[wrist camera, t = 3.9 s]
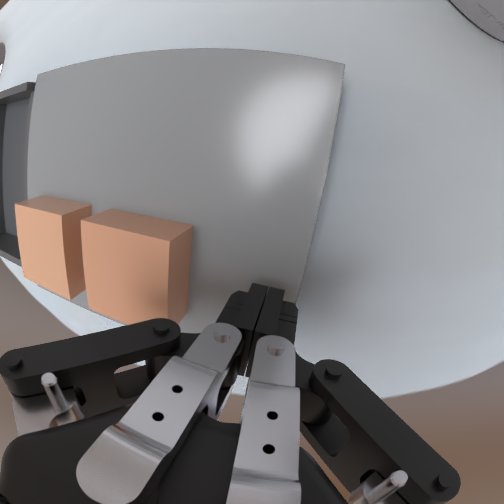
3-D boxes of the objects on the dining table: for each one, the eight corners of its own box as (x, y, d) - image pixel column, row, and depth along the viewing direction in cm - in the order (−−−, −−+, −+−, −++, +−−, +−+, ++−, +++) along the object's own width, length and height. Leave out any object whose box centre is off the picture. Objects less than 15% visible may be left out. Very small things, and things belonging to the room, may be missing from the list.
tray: (9, 98, 16) (-19, 99, 13) (60, 85, 15) (27, 82, 12) (7, 235, 21) (-17, 246, 18) (55, 254, 20) (27, 269, 17)
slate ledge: (65, 78, 15) (37, 74, 12) (338, 80, 12) (345, 64, 10) (61, 271, 21) (38, 285, 18) (282, 340, 18) (276, 370, 15)
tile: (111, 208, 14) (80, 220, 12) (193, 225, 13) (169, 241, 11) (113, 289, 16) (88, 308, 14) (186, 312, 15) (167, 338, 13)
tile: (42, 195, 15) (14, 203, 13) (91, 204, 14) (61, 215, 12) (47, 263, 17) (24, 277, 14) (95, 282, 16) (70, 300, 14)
